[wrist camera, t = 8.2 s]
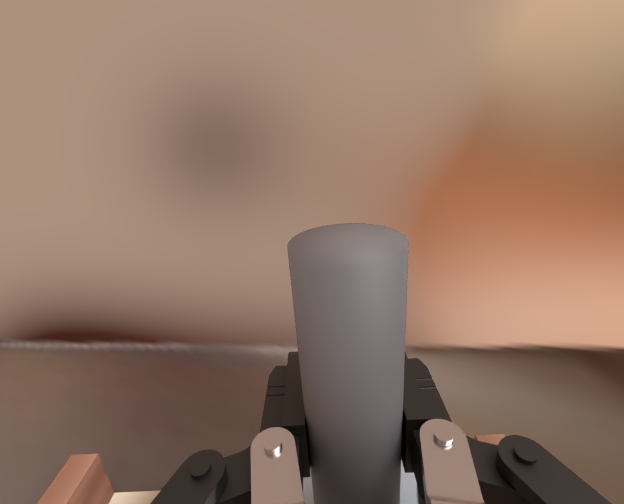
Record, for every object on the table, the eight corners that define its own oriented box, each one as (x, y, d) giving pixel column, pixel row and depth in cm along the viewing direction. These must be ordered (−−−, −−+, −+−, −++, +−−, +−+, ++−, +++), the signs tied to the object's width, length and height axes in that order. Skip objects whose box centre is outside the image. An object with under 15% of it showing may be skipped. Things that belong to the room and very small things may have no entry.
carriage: (430, 494, 17) (454, 198, 12) (500, 719, 11) (624, 301, 5) (272, 501, 18) (223, 214, 12) (248, 725, 11) (119, 331, 6)
